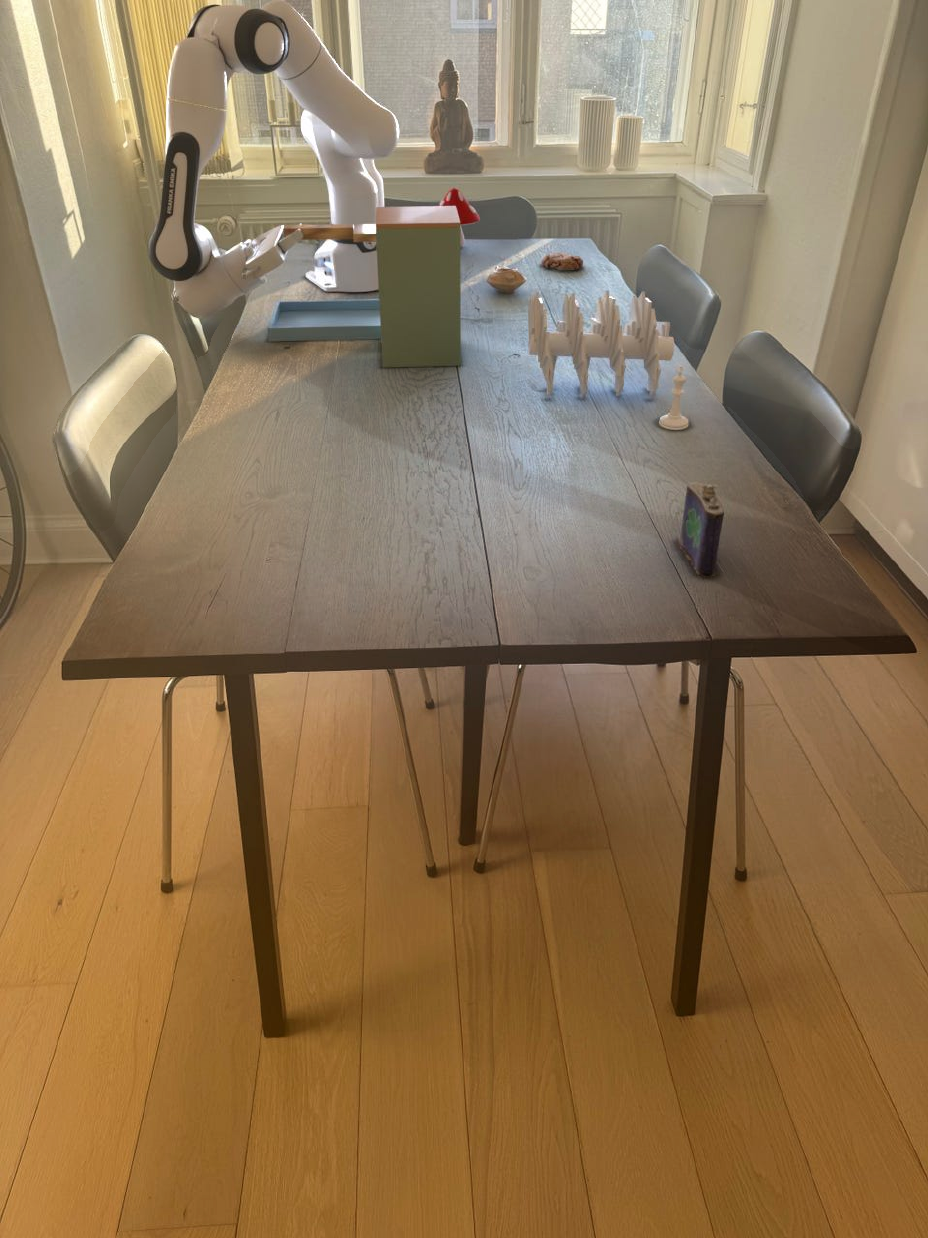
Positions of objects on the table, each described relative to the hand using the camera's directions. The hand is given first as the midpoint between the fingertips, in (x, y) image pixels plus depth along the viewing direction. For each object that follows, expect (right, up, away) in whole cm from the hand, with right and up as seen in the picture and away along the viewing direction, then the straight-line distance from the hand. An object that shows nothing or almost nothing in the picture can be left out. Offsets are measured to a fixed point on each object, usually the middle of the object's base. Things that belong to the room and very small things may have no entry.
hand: (302, 229), depth 191 cm
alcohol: (+8, +18, +61) cm, 64 cm away
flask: (+63, -71, -67) cm, 116 cm away
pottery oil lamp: (+42, 0, +34) cm, 54 cm away
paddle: (+8, -1, +1) cm, 8 cm away
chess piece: (+68, -46, -31) cm, 88 cm away
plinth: (+24, -26, -3) cm, 35 cm away
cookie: (+57, +11, +50) cm, 77 cm away
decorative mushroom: (+30, +22, +67) cm, 76 cm away
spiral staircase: (+56, -38, -20) cm, 71 cm away
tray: (+8, -16, +12) cm, 21 cm away
